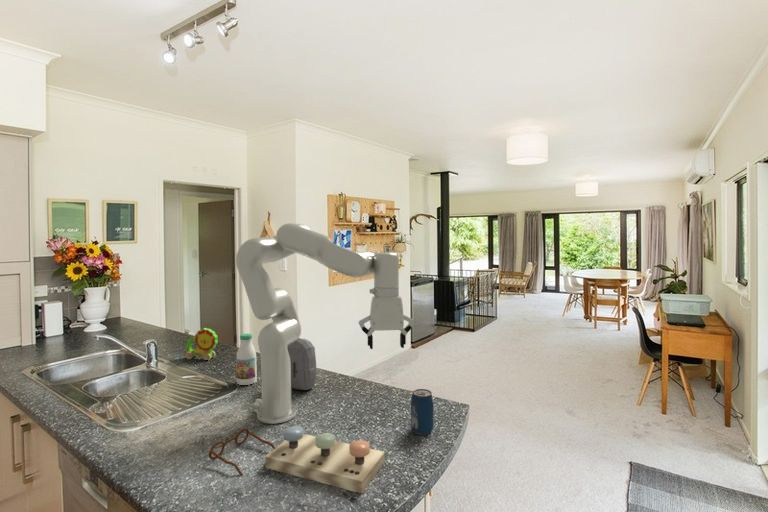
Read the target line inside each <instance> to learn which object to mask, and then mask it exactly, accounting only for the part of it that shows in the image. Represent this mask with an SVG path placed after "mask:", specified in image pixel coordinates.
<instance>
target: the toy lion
mask: <svg viewBox="0 0 768 512" xmlns="http://www.w3.org/2000/svg"><path fill="white" fill-rule="evenodd" d="M218 338H219V337H218V335H217V333H216V331H214V330H213V329H211V328H207V327H204V328H202V329H200V330H198V331H197V332H196V333H195V334H194V336H191V337H190V338H189V339H188V340H187V342H186V346H185V347H186V350H185V351H186V353H185V354H184V356H185V359H186V358H187V359H186V360H188V359H189V360H191V359H193V358H195V357H194V356H196V357H198V356H199V357H202V359H203V361H205V360H208V361H210V360H211V358H212V359H214V358H216V352H215V351H214V350H213V349H215V348H216V347H217V345H218V343H219V340H218ZM193 342H195V343H196V345H197V346H196V347H195V348H193V346H192V344H193Z"/></svg>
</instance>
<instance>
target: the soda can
mask: <svg viewBox="0 0 768 512" xmlns="http://www.w3.org/2000/svg"><path fill="white" fill-rule="evenodd" d="M434 401H435V400H434V396H433V394H432V391H431V390H429V389H427V388H426V389H425V388H417V389H415V390H413V391H412V395H411V397H410V427H411V429H412V431H413V432H414V433H415V434H417V435H419V436H420V435H421V436H422V435H423V436H424V435H429V434H430V433H431V432H432V431H433V430H434Z"/></svg>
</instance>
